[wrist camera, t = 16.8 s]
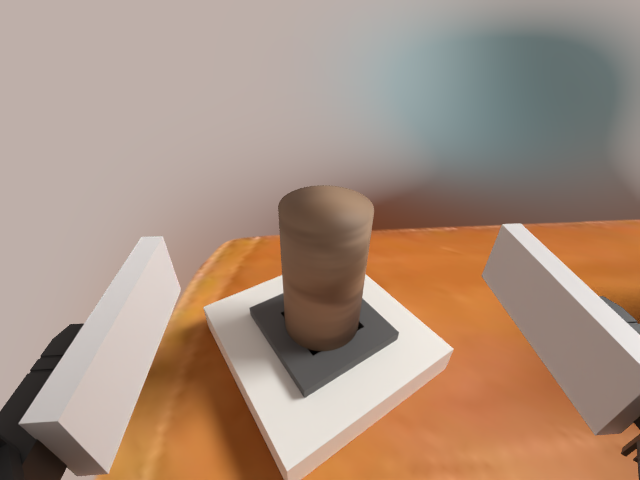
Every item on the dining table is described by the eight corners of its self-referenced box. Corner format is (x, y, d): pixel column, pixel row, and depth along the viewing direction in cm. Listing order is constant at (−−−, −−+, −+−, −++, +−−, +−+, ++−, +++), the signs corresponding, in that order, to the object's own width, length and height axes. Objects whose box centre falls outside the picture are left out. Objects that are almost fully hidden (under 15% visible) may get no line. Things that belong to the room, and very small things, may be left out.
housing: (337, 270, 42) (339, 245, 40) (445, 368, 31) (456, 341, 28) (208, 326, 34) (201, 299, 32) (288, 488, 23) (286, 465, 20)
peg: (328, 310, 36) (336, 178, 27) (369, 354, 31) (394, 213, 22) (274, 337, 33) (261, 198, 24) (310, 390, 28) (312, 244, 19)
